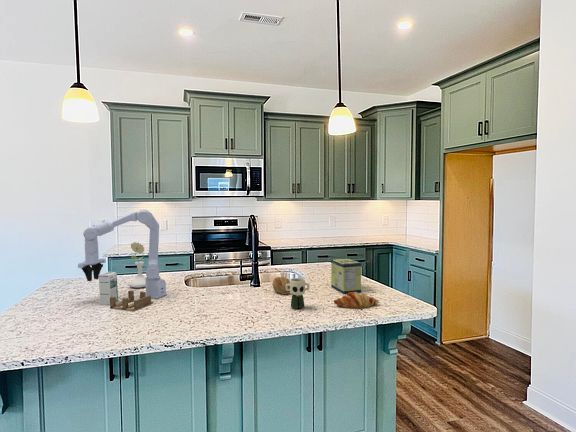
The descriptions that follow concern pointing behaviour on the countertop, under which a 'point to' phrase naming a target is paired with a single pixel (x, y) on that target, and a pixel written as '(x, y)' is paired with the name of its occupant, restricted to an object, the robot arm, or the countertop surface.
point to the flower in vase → (138, 267)
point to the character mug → (297, 291)
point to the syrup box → (108, 287)
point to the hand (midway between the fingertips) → (92, 279)
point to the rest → (137, 304)
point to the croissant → (356, 300)
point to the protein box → (346, 275)
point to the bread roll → (281, 284)
